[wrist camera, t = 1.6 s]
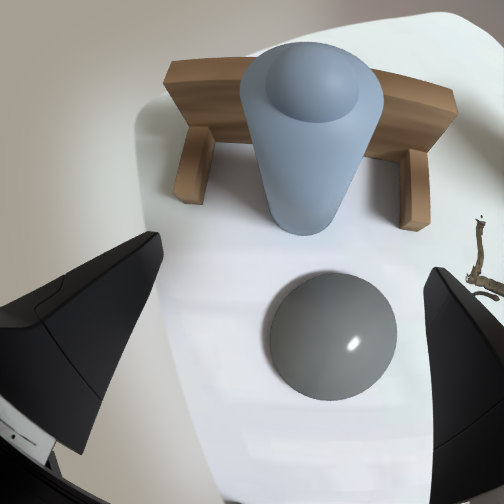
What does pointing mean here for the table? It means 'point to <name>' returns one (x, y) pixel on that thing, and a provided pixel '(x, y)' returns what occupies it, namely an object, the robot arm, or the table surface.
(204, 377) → the table surface
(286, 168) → the pepper mill
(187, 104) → the walnut bench
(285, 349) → the coaster
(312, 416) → the table surface
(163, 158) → the table surface
